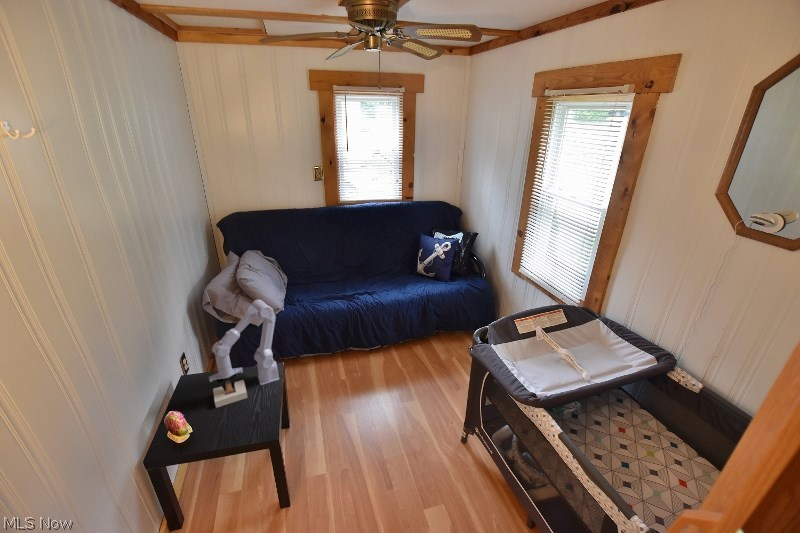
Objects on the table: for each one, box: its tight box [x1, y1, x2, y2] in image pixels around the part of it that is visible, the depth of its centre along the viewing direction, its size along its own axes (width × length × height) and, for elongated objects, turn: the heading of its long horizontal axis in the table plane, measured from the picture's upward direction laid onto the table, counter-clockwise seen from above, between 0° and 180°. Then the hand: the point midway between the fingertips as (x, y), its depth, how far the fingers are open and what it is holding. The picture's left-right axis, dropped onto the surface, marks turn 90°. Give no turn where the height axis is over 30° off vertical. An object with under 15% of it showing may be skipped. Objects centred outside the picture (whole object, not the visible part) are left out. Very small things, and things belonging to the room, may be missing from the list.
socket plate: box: [212, 379, 248, 409], centre depth 179 cm, size 14×10×4 cm
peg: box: [223, 376, 234, 395], centre depth 177 cm, size 3×3×9 cm
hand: (229, 388), depth 177 cm, fingers closed on peg, 3 cm apart
